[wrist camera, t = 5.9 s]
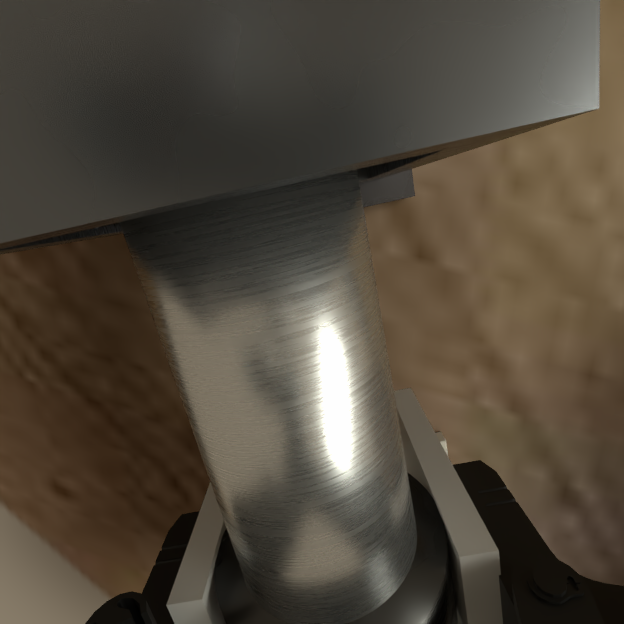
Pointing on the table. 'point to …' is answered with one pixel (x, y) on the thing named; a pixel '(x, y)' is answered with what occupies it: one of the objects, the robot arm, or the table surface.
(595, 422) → the table surface
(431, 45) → the dark grey block
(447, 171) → the table surface
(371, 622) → the rod
